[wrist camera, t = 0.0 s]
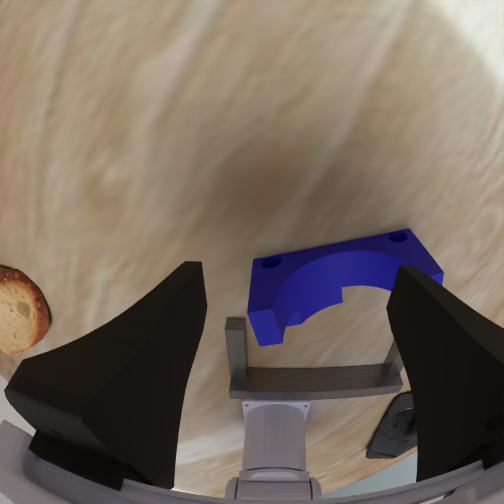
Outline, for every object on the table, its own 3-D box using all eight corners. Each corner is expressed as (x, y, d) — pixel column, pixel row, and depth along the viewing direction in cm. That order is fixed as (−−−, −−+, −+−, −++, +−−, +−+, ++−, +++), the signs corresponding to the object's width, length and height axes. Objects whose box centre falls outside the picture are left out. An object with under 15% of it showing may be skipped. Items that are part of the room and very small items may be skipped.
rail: (392, 371, 28) (398, 392, 26) (233, 375, 29) (230, 398, 27) (417, 315, 24) (428, 337, 21) (227, 317, 25) (222, 343, 22)
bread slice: (-1, 338, 34) (-12, 352, 30) (-39, 246, 24) (-55, 260, 21) (78, 374, 34) (69, 394, 31) (42, 274, 25) (23, 296, 22)
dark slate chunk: (350, 450, 42) (352, 472, 37) (398, 384, 30) (407, 416, 26) (421, 439, 41) (426, 458, 37) (482, 371, 30) (494, 395, 26)
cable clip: (267, 303, 24) (265, 360, 19) (253, 258, 22) (247, 312, 17) (407, 275, 22) (434, 325, 17) (408, 227, 20) (443, 272, 15)
